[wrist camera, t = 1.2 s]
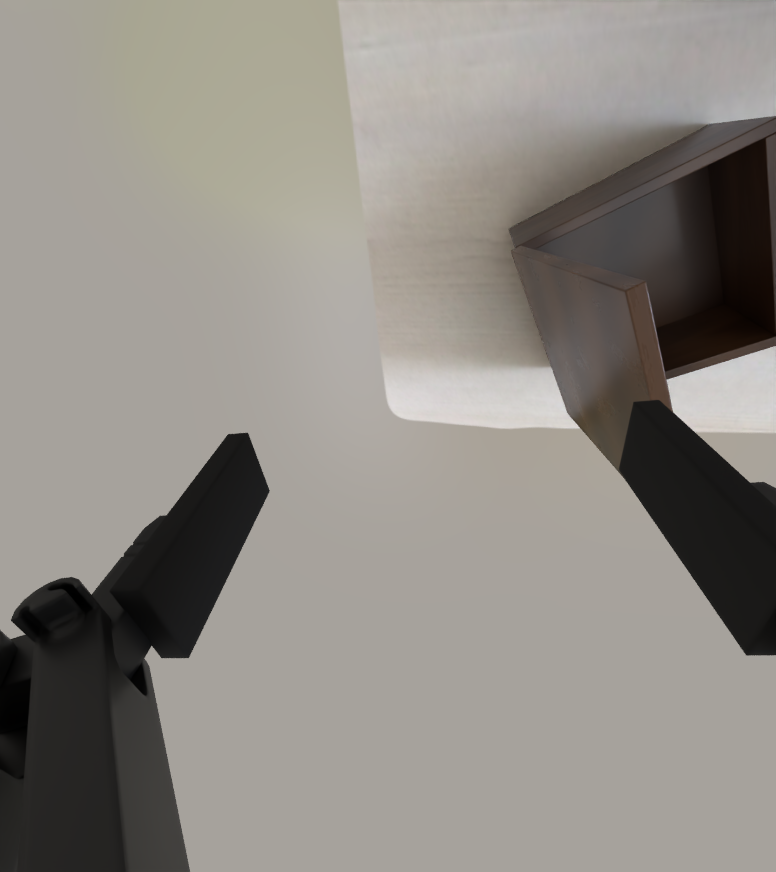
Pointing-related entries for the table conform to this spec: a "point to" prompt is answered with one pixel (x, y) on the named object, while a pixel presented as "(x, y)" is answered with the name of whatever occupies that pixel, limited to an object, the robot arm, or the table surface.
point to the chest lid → (595, 342)
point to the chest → (684, 239)
